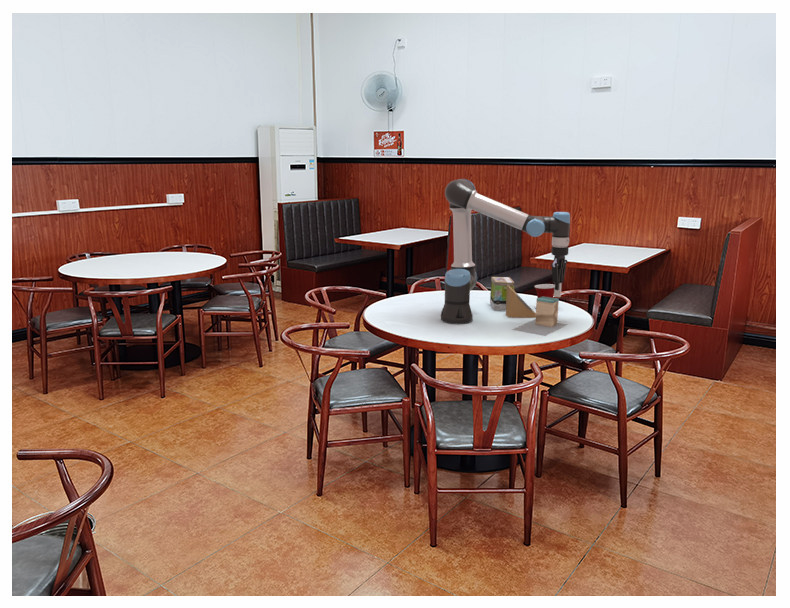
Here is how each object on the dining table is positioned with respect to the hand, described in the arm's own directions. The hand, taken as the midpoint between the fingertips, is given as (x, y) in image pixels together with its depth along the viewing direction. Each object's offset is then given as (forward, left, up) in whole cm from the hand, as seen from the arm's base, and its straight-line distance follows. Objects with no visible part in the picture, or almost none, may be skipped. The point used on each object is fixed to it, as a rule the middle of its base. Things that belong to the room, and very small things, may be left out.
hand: (557, 296), depth 289 cm
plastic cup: (+20, +15, -12) cm, 28 cm away
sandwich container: (-2, +16, -12) cm, 20 cm away
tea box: (+8, +33, -12) cm, 36 cm away
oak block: (-10, 0, -11) cm, 15 cm away
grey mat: (-16, 0, -12) cm, 20 cm away
